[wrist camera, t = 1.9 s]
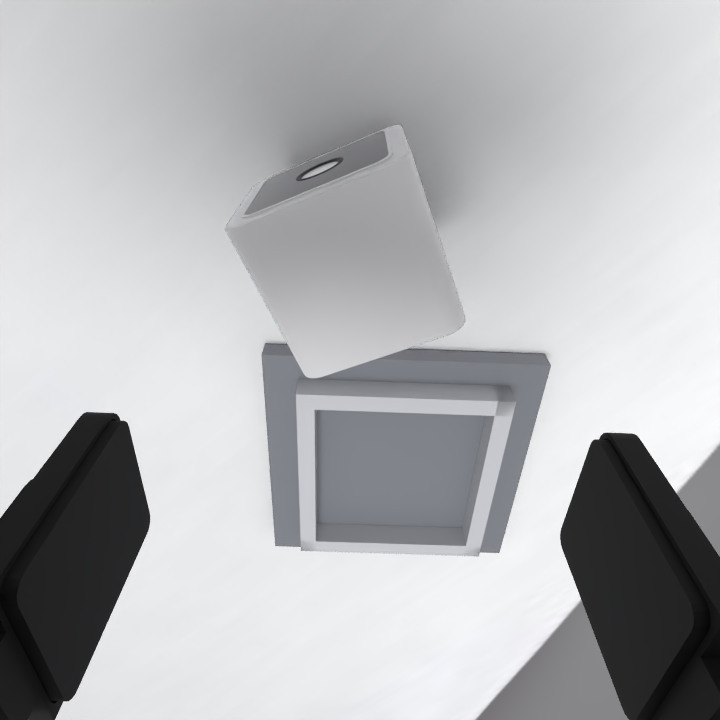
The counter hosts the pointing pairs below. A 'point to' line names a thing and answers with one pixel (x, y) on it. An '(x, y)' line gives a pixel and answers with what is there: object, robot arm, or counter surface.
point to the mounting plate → (400, 450)
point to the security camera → (348, 255)
